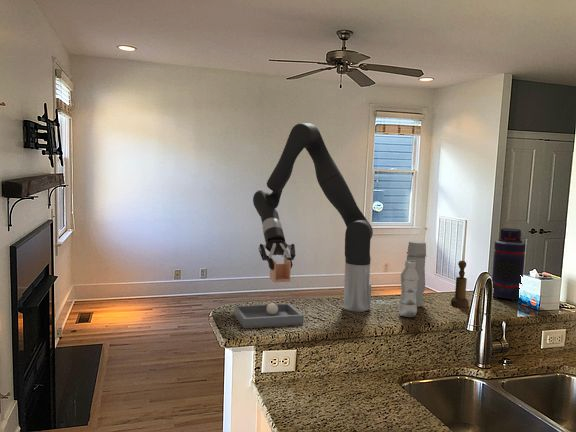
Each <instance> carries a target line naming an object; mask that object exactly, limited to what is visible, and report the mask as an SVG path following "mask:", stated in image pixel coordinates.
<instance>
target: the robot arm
mask: <svg viewBox="0 0 576 432" xmlns="http://www.w3.org/2000/svg"><path fill="white" fill-rule="evenodd" d="M304 149H305V150H306V151H307V153H308V155H309V156H310V158H311V160H312V162H313V165H314V170H315V176H316V180H317V183H318V185H319V187H320V189H321V191H322V192H323V194H324V195H325V197H326V199H327V200H328V201H329V202H330V204H331V205H332V206H333V207H334V208H335V210H337V212H338V213H339V215H340V217H341V218H342V220H343V222H344V225H345V227H346V229H345V234H344V257H345V258H344V259H345V260H344V261H345V262H344V264H345V265H344V281H343V282H344V285H343V301H342V302H343V303H342V308H343V309H344V310H346V311H349V312H361V313H362V312H366V311H370V310H371V302H372V301H371V300H372V299H371V297H372V284H370V277H371V276H370V275H371V274H370V273H371V259H372V257H371V239H372V237H373V234H374V233H373V232H374V231H373V227H372V225H371V224H370V222H369V221H368V220H367V218H366V216H365V215H364V214H363V212H362V210H361V209H360V208H359V206H358V205H357V202H356V200H355V198H354V195H353V194H352V192H351V190H350V187H349V185H348V183H347V181H346V180H345V178H344V176H343V174H342V173H341V171H340V169H339V167H338V165H336V163H335V160H334V159H333V158H332V155H331V153H330V152H329V151H328V148H327V146H326V144H325V141H324V139H323V136H322V135H321V132H320V130H319V128H318V127H317V126H316V125H314V124H313V123H309V122H307V123H306V122H302V123H297V124H295V125H294V126H292V129H290V132H289V134H288V137H287V140H286V143H285V145H284V147H283V149H282V152H281V155H280V157H279V159H278V161H277V164H276V165H275V166H274V169H273V171H272V172H271V174H270V176H269V177H268V179H267V181H266V186H267V188H268V190H270V191H272V192H268V191H266V190H256V192H254V194H253V196H252V198H253V199H252V201H253V203H252V204H253V206H254V208H255V210H256V212H257V213H258V215H259V217H260V219H261V225H262V233H263V237H264V241H265V244H262V243H260V244H259V246H258V251H259V252H258V253H259V254H260V257H261V259H262V261H263V262H264V261H266V262H267V264H268V268H269V270H270V269H271V270H273V269H274V263H273V260H274V258H273V256H281V257H282V258H283V259H284V258H285V259H287V260H289V261H291V269H292V268H293V266H294V265H293V262H292V261H294V260H295V257H296V249H295V248H296V246H295V244H294V243H291V244H287V242H286V238H285V234H284V231H283V226H282V223H281V220H280V217H279V213H278V211H277V210H276V209H277V208H278V206H279V205H280V200H281V196H282V193H283V190H284V189H285V187H286V185H287V183H288V181H289V179H290V177H291V176H292V173H293V169H294V165H295V162H296V160H297V158H298V157H299V156H300V154H301V153H302V151H303V150H304ZM266 250H267V251H268V252H269V254H268V255H267V253H266Z"/></svg>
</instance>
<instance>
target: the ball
mask: <svg viewBox="0 0 576 432" xmlns="http://www.w3.org/2000/svg"><path fill="white" fill-rule="evenodd" d="M276 304H277V303H274V302H271V303H269V304H268V306H267V308H266V309H267V312H268V313H269V314H270V315H274V314H276V313H277V311H278V306H277V305H276Z"/></svg>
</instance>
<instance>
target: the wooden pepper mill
mask: <svg viewBox="0 0 576 432" xmlns="http://www.w3.org/2000/svg"><path fill="white" fill-rule="evenodd" d="M457 265H458V268H459V272H458V275H459V276H456V277H455V293H454V296H453V297H451V299H450V305H451V306H453V307H456V308H469V306H470V305H469V304H470V302H469V299H467V298H466V294H467V292H466V291H467V280H468V278H466V277H464V276H465V273H466V272H465V268H466V267H467V262H466V261H465V260H459V261H458V263H457Z"/></svg>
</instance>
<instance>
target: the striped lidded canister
mask: <svg viewBox="0 0 576 432" xmlns="http://www.w3.org/2000/svg"><path fill="white" fill-rule="evenodd" d="M499 234H500V235H499V236H500V237H499V238H498V239H497V240H496V241H495V240H494V246H493V247H494V248H493V249H494V251H493V264H492V275H491V276H492V277H491V282H492V281H493V288H494V293H493V295H492V296H493V299H496V300H498V298H501V299H508V300H509V299H510V300H511V301H512V302H517V301H518V300H519V299H518V298H519V289H520V288H519V283H520V284H522V283H521V276H522V277H523V278H524V268H525V257H526V255H525V252H526V243H523V242H525V241H524V239H525V238H524V235H523V232H522V230H521V229H520V228H511V227H503V228H500V233H499ZM520 275H521V276H520ZM522 285H523V284H522Z"/></svg>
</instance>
